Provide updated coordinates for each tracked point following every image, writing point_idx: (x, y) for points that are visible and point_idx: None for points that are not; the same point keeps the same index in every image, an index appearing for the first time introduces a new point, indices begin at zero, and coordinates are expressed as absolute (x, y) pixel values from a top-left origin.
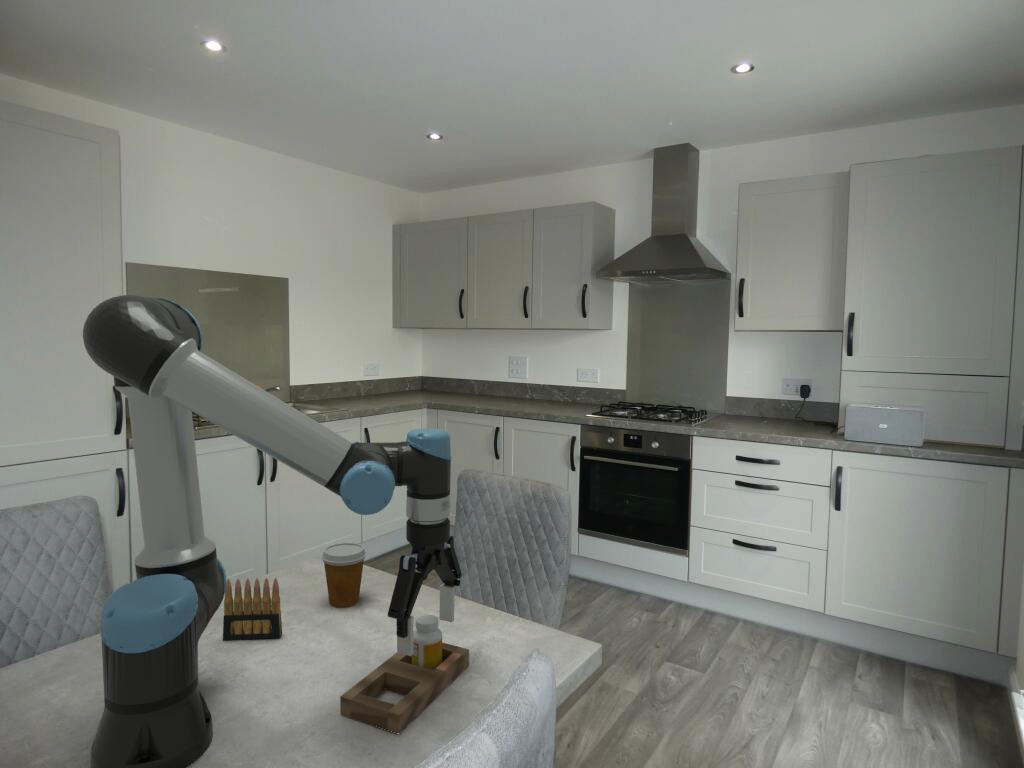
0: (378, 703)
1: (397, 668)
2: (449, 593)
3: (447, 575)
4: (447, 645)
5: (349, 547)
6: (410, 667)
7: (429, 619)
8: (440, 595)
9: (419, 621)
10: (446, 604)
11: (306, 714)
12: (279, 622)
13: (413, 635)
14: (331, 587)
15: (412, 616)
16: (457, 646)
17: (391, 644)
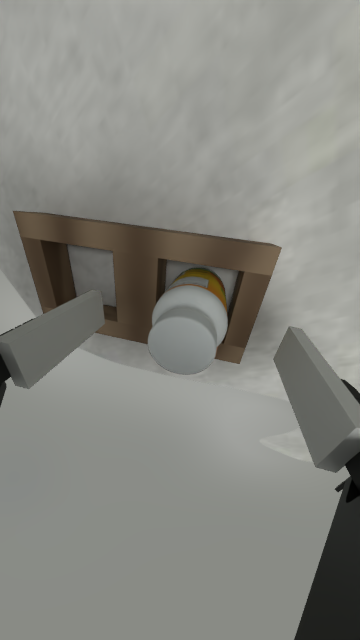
0: (44, 285)
1: (132, 268)
2: (310, 430)
3: (315, 579)
4: (246, 327)
5: None
6: (146, 290)
7: (181, 355)
8: (325, 385)
9: (159, 333)
10: (297, 381)
11: (6, 146)
12: None
13: (161, 301)
14: None
15: (26, 386)
16: (245, 344)
17: (302, 150)
